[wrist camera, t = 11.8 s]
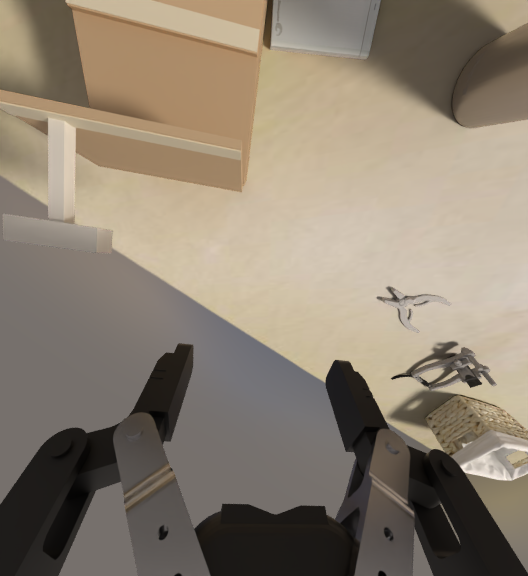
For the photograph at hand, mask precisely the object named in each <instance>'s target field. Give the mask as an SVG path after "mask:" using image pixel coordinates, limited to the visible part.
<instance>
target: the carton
mask: <svg viewBox="0 0 528 576" xmlns="http://www.w3.org/2000/svg"><path fill="white" fill-rule="evenodd" d="M65 1H66V3H67V5H68V6H69V7H70V8H71V9H72V12H73V18H74V23H75V29H76V35H77V40H78V46H79V51H80V57H81V62H82V68H83V73H84V79H85V84H86V90H87V96H88V101H89V107H90V108H91V109H95V110H100V111H105V112H110V113H114V114H119V115H124V116H129V117H133V118H138V119H143V120H148V121H152V122H157V123H162V124H167V125H171V126H176V127H181V128H186V129H190V130H195V131H200V132H205V133H210V134H214V135H219V136H224V137H229V138H233V139H238V140H242V186H244V184H245V182H246V179H247V171H248V162H249V154H250V145H251V137H252V128H253V120H254V111H255V103H256V94H257V86H258V77H259V69H260V61H261V52H262V44H263V35H264V27H265V18H266V10H267V1H268V0H65Z"/></svg>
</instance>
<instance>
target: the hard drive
mask: <svg viewBox="0 0 528 576" xmlns="http://www.w3.org/2000/svg"><path fill="white" fill-rule="evenodd" d="M380 2H381V0H273V2H272V21H271V39H270V50H277V51H286V52H295V53H304V54H314V55H324V56H333V57H343V58H353V59H362V60H366V59H367V58H368V56H369V52H370V48H371V44H372V39H373V34H374V30H375V25H376V21H377V16H378V11H379V7H380Z"/></svg>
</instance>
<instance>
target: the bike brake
mask: <svg viewBox="0 0 528 576" xmlns="http://www.w3.org/2000/svg"><path fill="white" fill-rule="evenodd" d="M474 356H475V353H474V352H473V351H472V350H469V349H468V348H465V347H463V348H461V353H460V354H457V355H454V356H452V357H449V358H448V359H445V360H442V361H438V362H435V363H432V364H428V365H425V366H423V367H421V368H418V369H416V370H414V371H412V372H411V375H399V376H395V377H393V378H391V379H392V380H393V379H396V378H400V377H414V378H415V379H416V380H417V381H419V382H421V383H422V384H423V385H426V386H427V387H428V388H429V390H431V391H434V390H436V389H439V388H443V387H447V386H450V385H452V384H455V383H457V382H459V381H462V382H463V383H468V385H469V386H470V388H471V387H474V386H478V385H481V384H482V383H481V382H480V380H479V379H480V378H481V376H480V375H481V374H483V376H484V377H485V378H486V379H487V380H488V382H489V383H490V384H491V385H492V386H496V385H497V384H496V383H495V382H494V380H493V379H492V378H491V377H490V376H489V374H488V372H490V369H489V368H488V367H487V366H483V365H481V364H479V363H478V362H477V361H476V359H475V358H474ZM469 360H470V361H471V362H472V363H473V365H474V366H475V368H474V369H470V368H469V366H468V365H470V364H472V363H471V362H470V361H469ZM449 366H450V367H451V368H452V369H453V370H457V372H458V373H459V374H457V375H455V376H453V377H452V378H450V379H448V380H446V381H444V382H441V383H437V384H429V383H428V382H427V381H425V380H423V379H422V378H421V377H420V376H419V375H420V374H422V373H424V372H426V371H429V370H433V369H437V368H444V367H449Z"/></svg>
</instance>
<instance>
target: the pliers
mask: <svg viewBox="0 0 528 576" xmlns="http://www.w3.org/2000/svg"><path fill="white" fill-rule="evenodd" d="M390 290H391V291H392V292H393V293H394V294H395V295H396V296H397V298H396V300H395V299H389V298H384V297H382V299H381V300H382V301H383V302H384V303H386V304H388V305H391V306H393V307H395V308H398V309H399V312H400V316H399V317H400V320H401V322H402V323H403V324H404V325H405V326H406V327H407V328H408V329H409V330H411V331H414V332H417V333H419V332H420V331H419V330H417V329H416V328H415V327H413V326H412V325H411V324H410V320H411V319H412V315H413V313H412V310H411V309H410V317H409V318H408V319H407V310H406V309H405V308H404V307H406V306H407V305H409V304H414V303H416V302H421V301H426V302H424V303H422V304H416V305H414V306H423V305H426V304H428V303H430V302H432V301H436V302H441V303H444V304H446V305H449V306H450V305H451V304H450V303H449V302H448V301H447V300H446V299H444V298H442V297H439V296H435V295H420V296H416V297H407V298H406V297H405V296H404V295H403V294H402V293H401V292H399V291H398V290H396V289H394V288H393V287H392V288H391V289H390Z"/></svg>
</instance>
